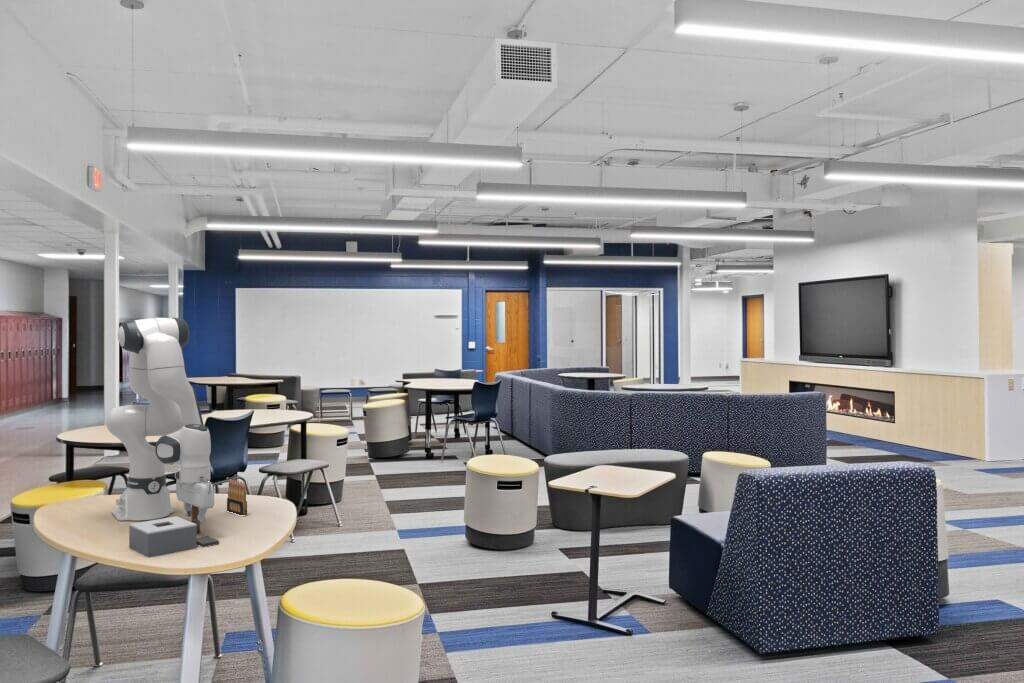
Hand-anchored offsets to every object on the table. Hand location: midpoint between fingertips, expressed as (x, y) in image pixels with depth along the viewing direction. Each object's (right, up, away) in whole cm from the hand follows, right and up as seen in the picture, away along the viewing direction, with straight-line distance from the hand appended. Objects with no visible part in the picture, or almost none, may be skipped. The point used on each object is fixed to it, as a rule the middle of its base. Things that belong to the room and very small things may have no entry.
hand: (195, 518), depth 240 cm
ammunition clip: (+3, -5, +27) cm, 28 cm away
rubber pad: (+8, -5, -11) cm, 14 cm away
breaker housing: (-3, -5, -16) cm, 17 cm away
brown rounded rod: (0, -5, 0) cm, 5 cm away
